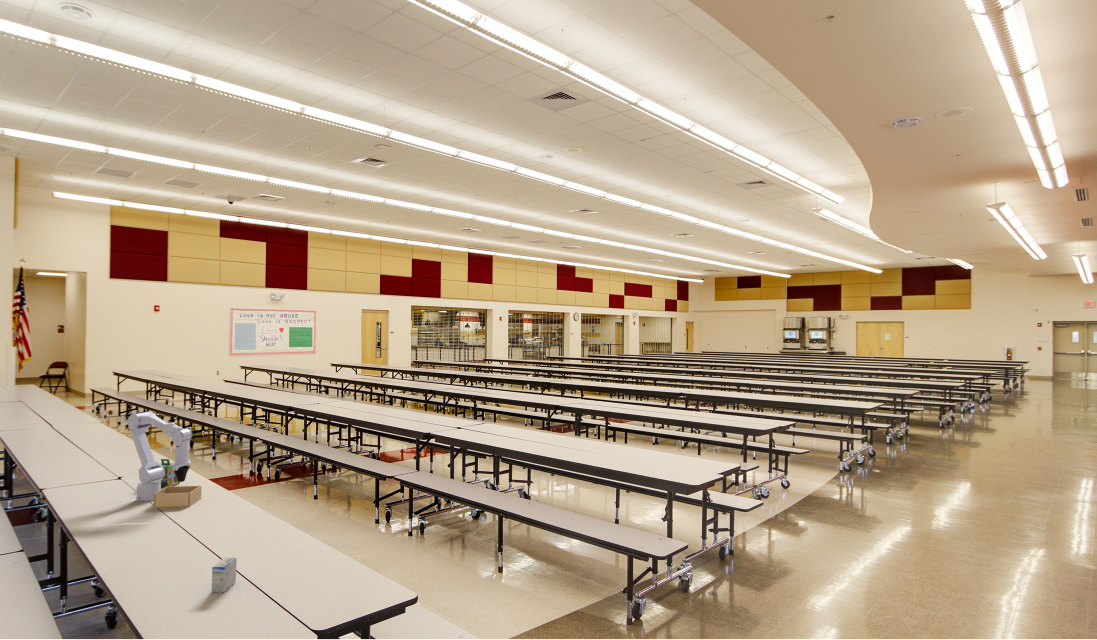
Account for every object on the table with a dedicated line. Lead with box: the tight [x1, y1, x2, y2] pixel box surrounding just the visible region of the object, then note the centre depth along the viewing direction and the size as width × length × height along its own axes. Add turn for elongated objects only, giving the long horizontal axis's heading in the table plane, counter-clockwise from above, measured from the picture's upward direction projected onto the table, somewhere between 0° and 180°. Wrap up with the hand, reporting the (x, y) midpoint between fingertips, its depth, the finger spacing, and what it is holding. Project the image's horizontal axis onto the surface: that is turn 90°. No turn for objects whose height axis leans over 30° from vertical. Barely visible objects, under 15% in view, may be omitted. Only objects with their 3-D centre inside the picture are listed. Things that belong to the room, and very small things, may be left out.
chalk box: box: [160, 458, 181, 489], centre depth 303 cm, size 9×9×15 cm
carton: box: [153, 485, 202, 509], centre depth 273 cm, size 16×12×7 cm
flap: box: [155, 493, 189, 508], centre depth 268 cm, size 14×1×6 cm, turn 100°
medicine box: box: [211, 557, 237, 593], centre depth 190 cm, size 8×4×9 cm, turn 5°
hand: (181, 481), depth 276 cm, fingers closed
